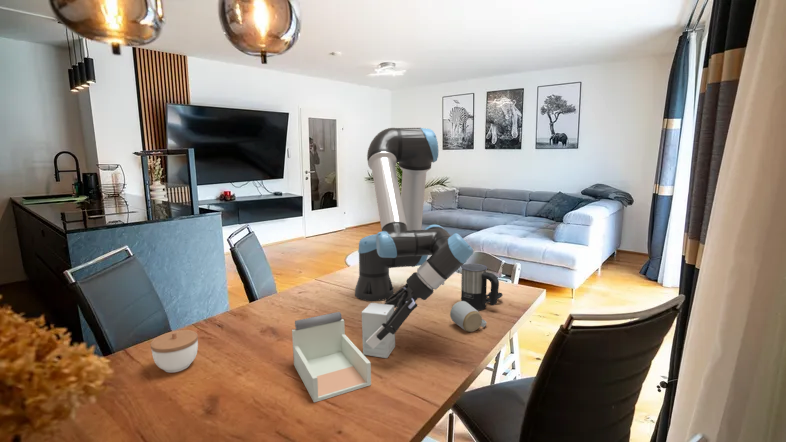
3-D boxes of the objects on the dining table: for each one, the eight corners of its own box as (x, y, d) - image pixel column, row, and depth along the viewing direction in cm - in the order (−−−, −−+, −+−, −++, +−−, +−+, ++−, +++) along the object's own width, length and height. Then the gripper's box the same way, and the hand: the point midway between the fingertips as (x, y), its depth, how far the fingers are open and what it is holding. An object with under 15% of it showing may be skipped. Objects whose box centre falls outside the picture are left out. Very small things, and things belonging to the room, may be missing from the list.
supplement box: (395, 346, 112) (395, 304, 110) (387, 359, 105) (386, 314, 103) (371, 342, 114) (371, 301, 112) (361, 354, 107) (360, 311, 105)
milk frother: (457, 309, 139) (458, 268, 136) (466, 294, 153) (467, 257, 151) (498, 314, 134) (500, 273, 131) (503, 299, 148) (505, 261, 145)
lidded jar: (168, 382, 95) (164, 346, 93) (145, 370, 101) (141, 336, 99) (208, 362, 104) (205, 329, 102) (185, 352, 110) (182, 320, 108)
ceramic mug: (463, 335, 118) (464, 311, 117) (449, 324, 126) (450, 302, 125) (492, 329, 123) (493, 306, 121) (476, 319, 130) (477, 297, 129)
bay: (293, 363, 103) (290, 320, 101) (343, 350, 110) (341, 309, 108) (314, 402, 87) (311, 351, 85) (371, 384, 93) (370, 337, 91)
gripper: (441, 307, 95) (379, 365, 97) (429, 276, 119) (380, 323, 121) (419, 286, 94) (357, 346, 96) (412, 259, 118) (363, 307, 120)
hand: (370, 333), depth 109 cm, fingers open, 12 cm apart
